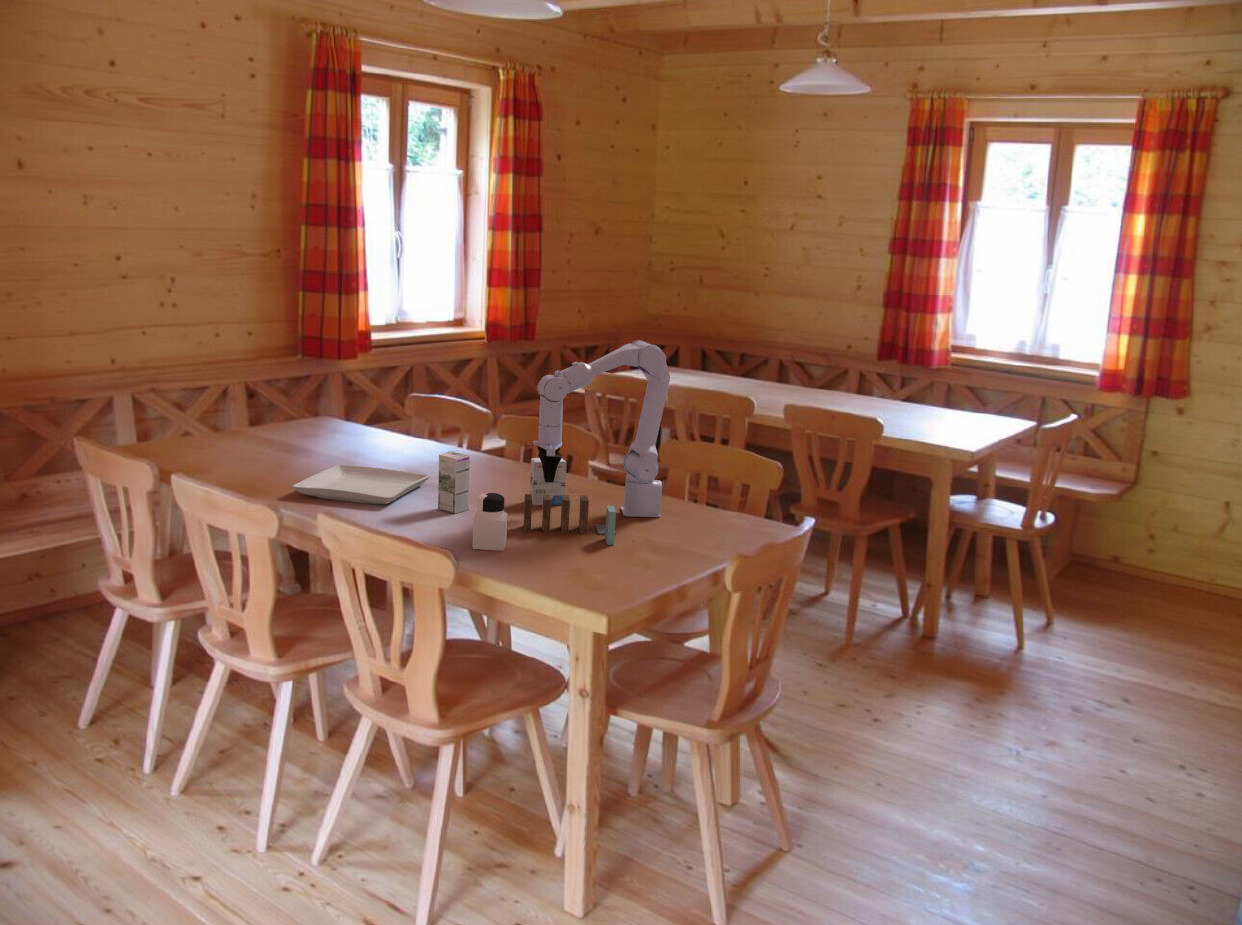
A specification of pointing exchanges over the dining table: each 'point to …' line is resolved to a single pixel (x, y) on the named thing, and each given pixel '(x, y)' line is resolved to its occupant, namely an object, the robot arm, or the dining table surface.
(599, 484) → the dining table surface
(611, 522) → the teal tile
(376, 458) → the dining table surface
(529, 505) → the domino
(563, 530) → the domino
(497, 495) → the medicine bottle
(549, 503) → the domino
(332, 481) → the square plate
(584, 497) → the domino
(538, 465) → the ink box
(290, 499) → the dining table surface
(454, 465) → the syrup box
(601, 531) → the slot pad
